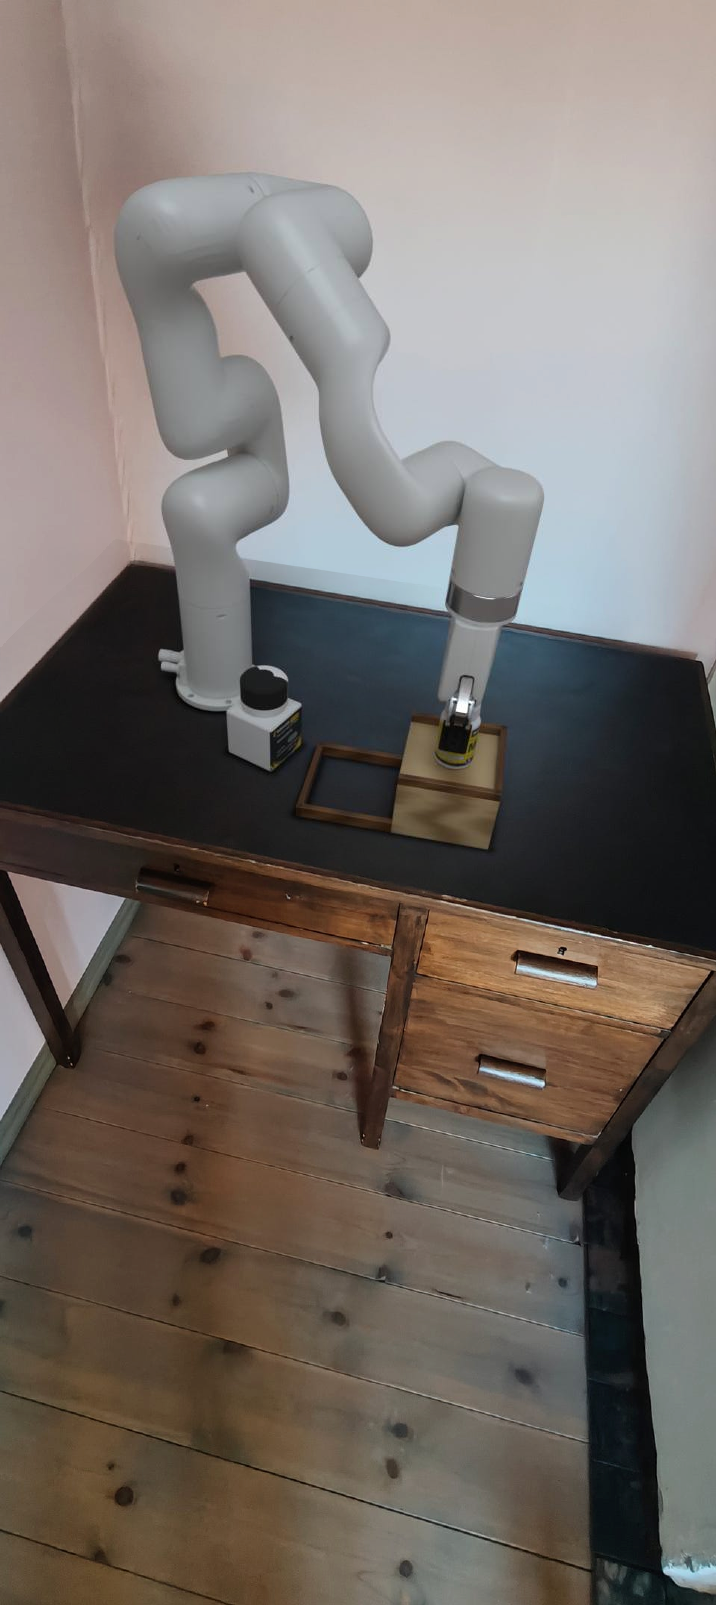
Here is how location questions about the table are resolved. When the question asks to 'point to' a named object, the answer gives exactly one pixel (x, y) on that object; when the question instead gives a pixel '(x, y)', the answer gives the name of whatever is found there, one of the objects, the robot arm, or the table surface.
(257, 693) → the medicine bottle
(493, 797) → the shelf rack
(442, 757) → the supplement bottle
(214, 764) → the table surface
